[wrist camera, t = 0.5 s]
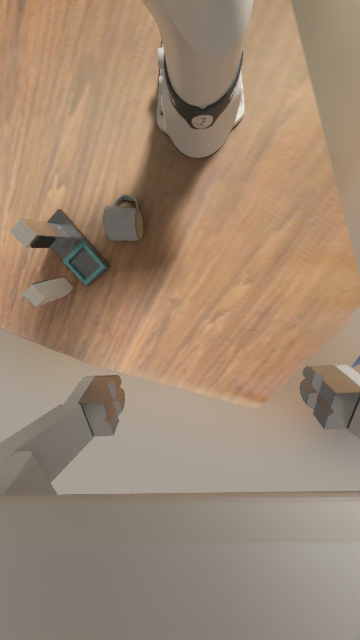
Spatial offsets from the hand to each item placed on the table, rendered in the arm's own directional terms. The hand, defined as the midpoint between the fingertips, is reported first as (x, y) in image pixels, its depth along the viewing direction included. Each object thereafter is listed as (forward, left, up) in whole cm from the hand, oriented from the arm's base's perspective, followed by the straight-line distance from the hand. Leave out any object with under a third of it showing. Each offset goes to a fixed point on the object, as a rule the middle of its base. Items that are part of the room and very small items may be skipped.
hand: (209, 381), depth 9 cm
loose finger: (+3, -40, -48) cm, 62 cm away
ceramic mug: (-13, -17, -48) cm, 53 cm away
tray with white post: (-7, -33, -48) cm, 58 cm away
